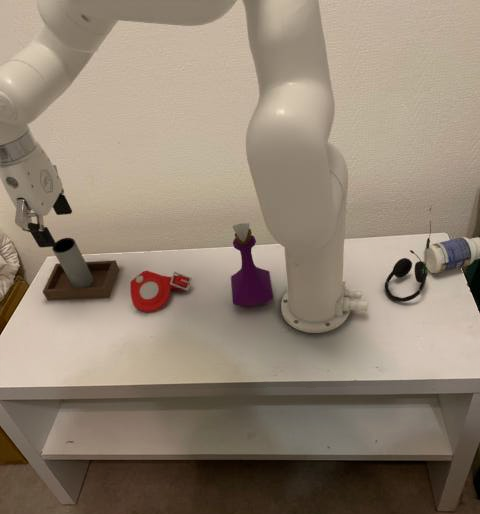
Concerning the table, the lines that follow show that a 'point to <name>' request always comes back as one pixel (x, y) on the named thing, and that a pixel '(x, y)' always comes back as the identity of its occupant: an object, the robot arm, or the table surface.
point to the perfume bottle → (249, 273)
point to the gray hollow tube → (73, 263)
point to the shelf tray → (100, 288)
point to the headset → (403, 269)
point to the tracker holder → (155, 289)
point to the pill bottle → (452, 254)
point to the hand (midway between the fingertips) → (56, 229)
